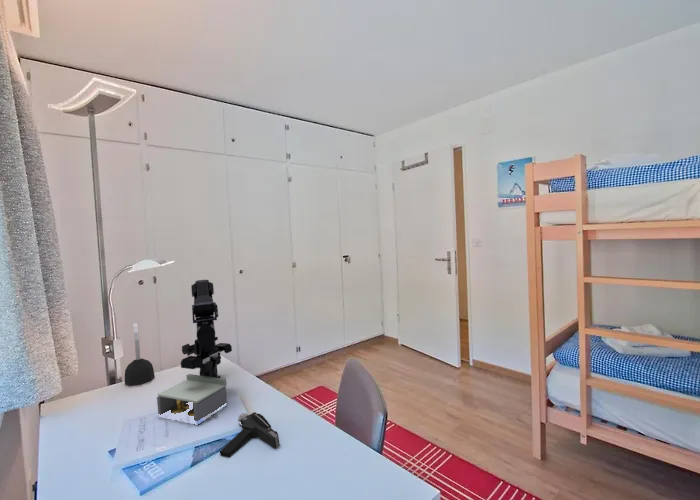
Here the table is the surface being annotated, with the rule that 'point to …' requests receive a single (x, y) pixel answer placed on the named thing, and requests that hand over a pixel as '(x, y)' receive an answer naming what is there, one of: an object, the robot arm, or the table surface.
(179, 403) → the brass door knob
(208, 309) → the robot arm
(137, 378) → the black plunger
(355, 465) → the table surface
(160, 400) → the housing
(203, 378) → the lid
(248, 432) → the toy gun
